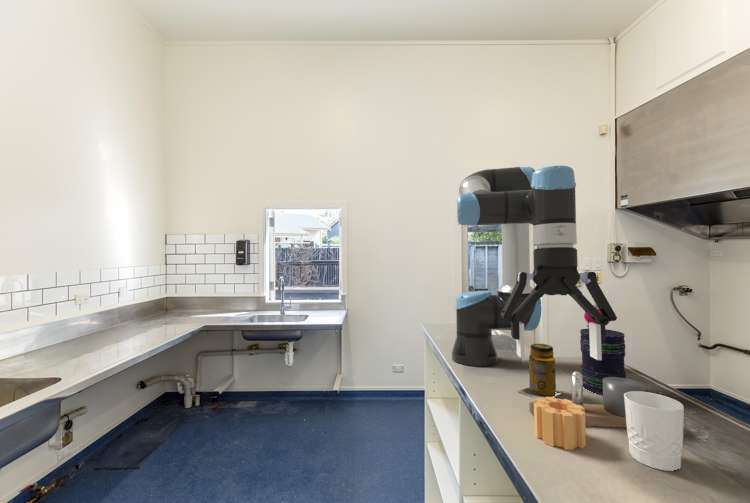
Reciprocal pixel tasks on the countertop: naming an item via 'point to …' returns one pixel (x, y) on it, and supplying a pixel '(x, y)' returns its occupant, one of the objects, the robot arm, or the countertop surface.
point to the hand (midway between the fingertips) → (557, 357)
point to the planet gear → (560, 423)
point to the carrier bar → (596, 416)
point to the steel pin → (577, 388)
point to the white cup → (654, 429)
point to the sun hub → (618, 393)
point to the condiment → (541, 372)
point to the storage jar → (608, 365)
